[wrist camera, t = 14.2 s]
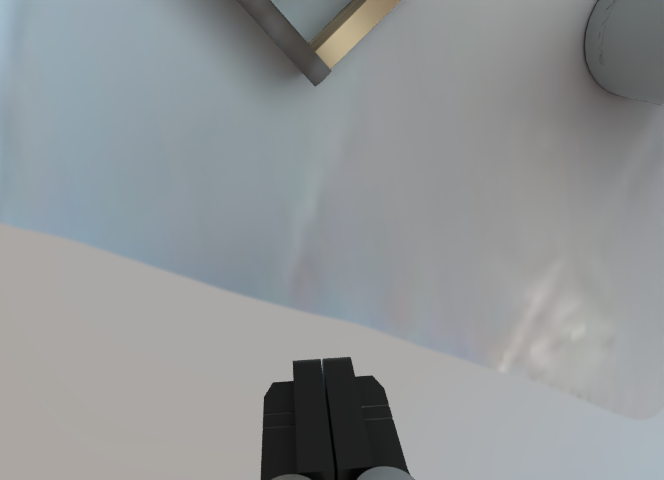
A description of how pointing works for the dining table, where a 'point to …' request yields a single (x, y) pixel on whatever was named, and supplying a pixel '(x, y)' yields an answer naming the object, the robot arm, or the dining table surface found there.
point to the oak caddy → (330, 43)
